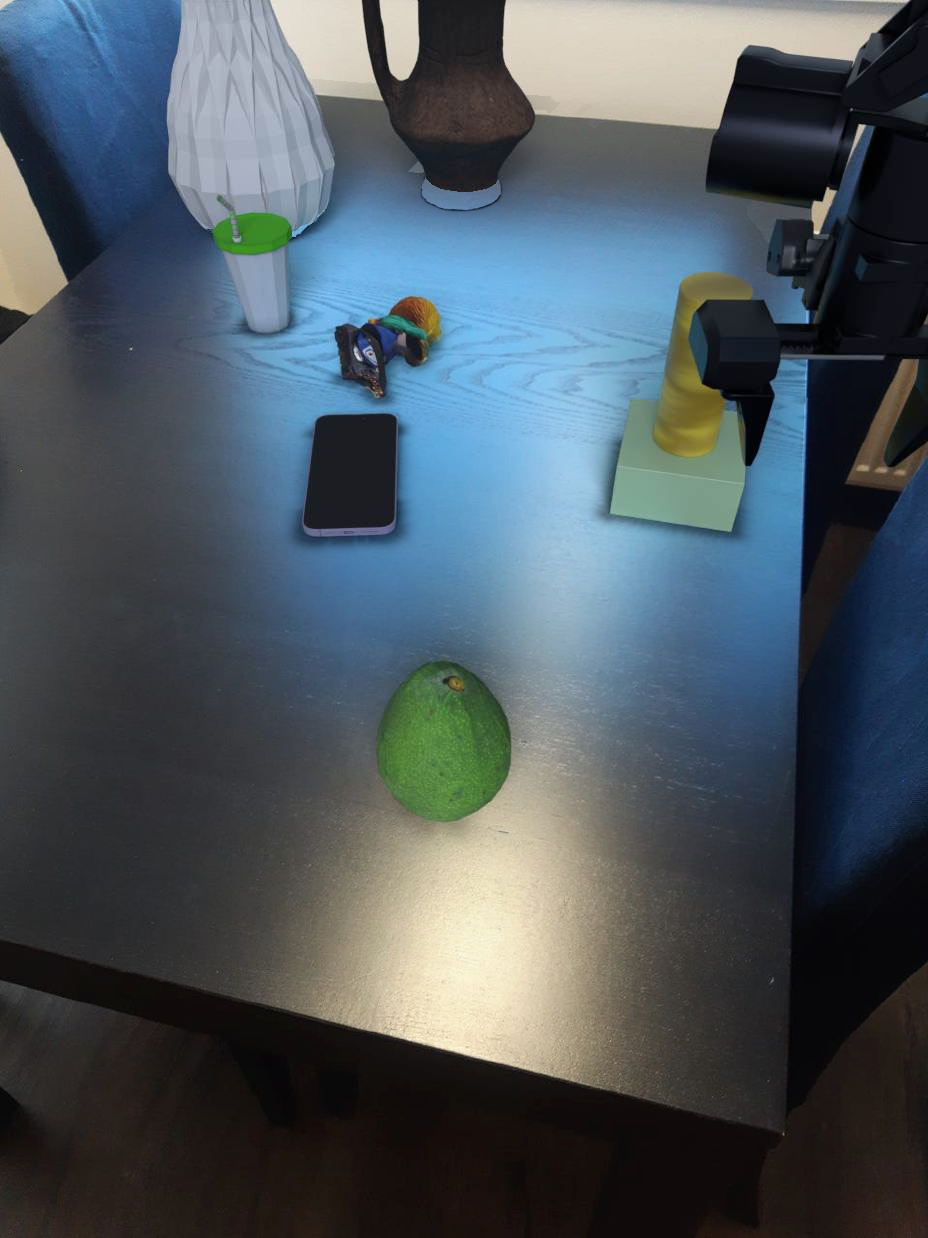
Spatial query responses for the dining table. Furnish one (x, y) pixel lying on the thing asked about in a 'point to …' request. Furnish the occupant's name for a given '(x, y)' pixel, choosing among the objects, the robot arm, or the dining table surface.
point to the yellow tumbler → (692, 372)
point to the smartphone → (352, 476)
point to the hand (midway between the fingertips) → (817, 462)
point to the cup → (258, 265)
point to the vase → (244, 118)
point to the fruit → (443, 743)
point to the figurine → (388, 342)
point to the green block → (677, 475)
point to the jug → (453, 92)
